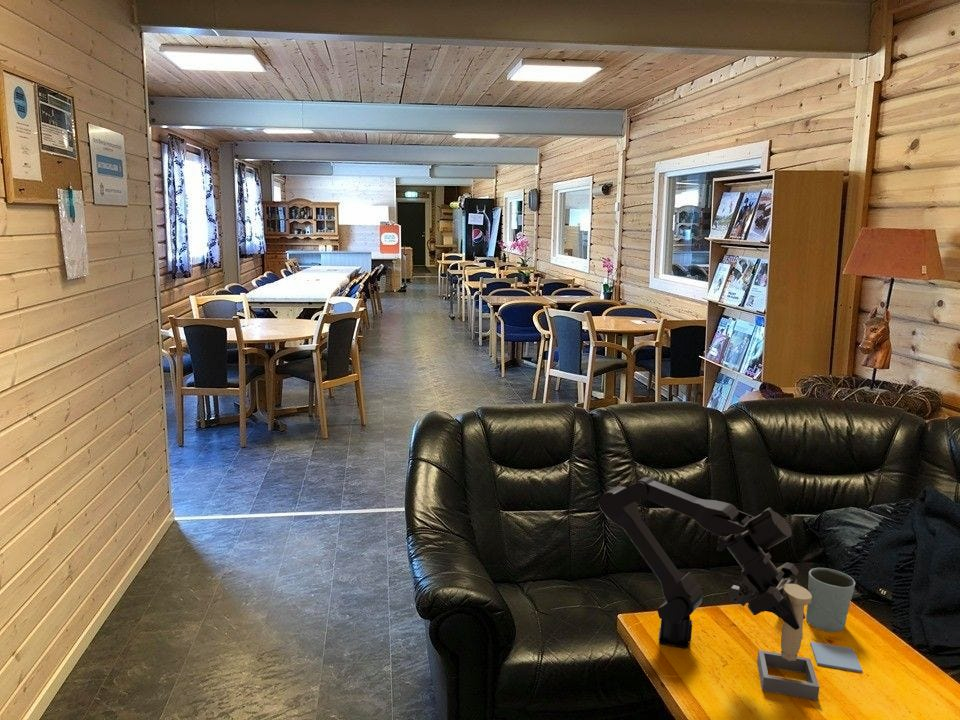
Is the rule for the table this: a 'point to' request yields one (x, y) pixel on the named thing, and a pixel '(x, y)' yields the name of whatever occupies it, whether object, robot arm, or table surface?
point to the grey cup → (829, 599)
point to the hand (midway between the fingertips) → (800, 624)
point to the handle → (790, 635)
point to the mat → (835, 657)
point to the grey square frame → (782, 684)
